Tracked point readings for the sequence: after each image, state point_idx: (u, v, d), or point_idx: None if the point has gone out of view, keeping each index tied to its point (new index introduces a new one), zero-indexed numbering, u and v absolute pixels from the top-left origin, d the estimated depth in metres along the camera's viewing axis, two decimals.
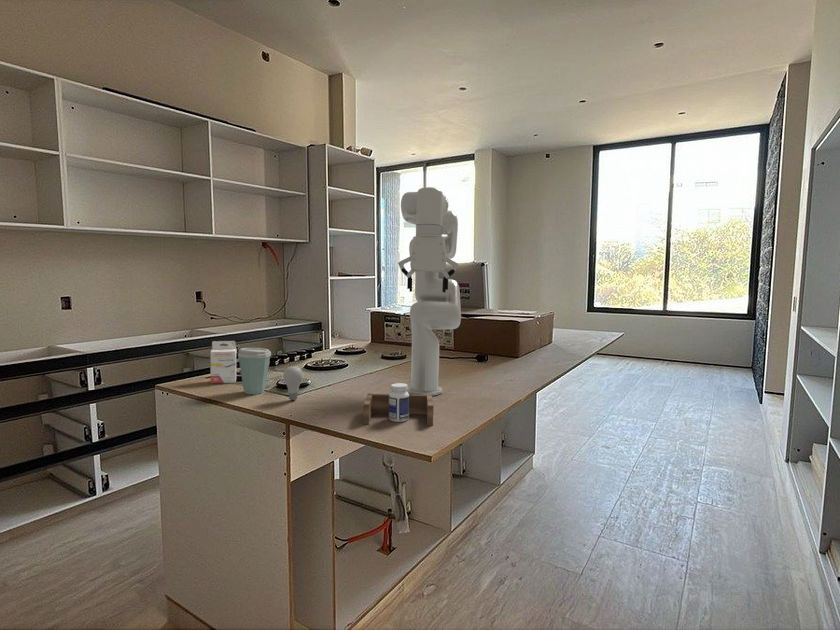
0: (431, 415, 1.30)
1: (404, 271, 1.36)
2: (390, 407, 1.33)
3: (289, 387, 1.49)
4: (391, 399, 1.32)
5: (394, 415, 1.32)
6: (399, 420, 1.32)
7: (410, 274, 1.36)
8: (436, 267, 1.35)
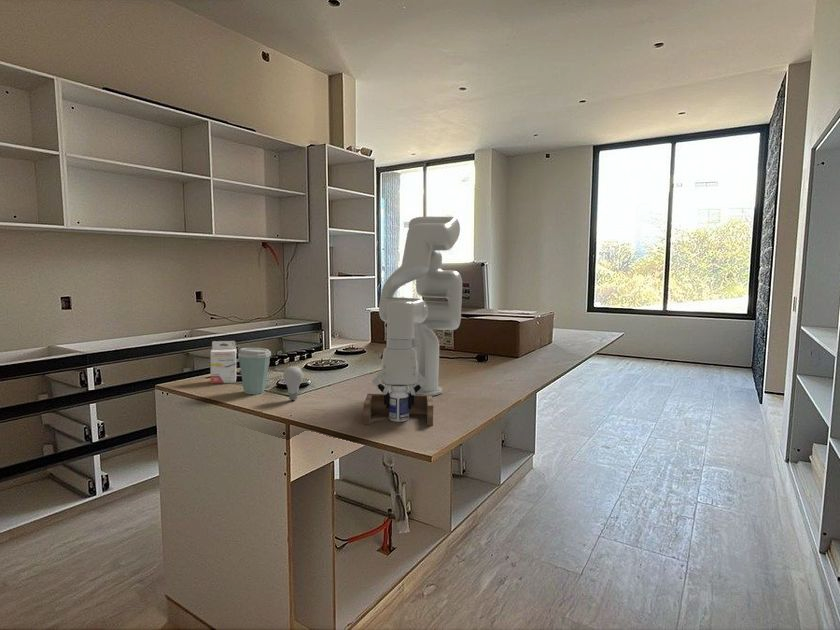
0: (431, 415, 1.30)
1: (380, 388, 1.33)
2: (390, 407, 1.33)
3: (289, 387, 1.49)
4: (391, 399, 1.32)
5: (394, 415, 1.32)
6: (399, 420, 1.32)
7: (386, 391, 1.33)
8: (407, 381, 1.32)
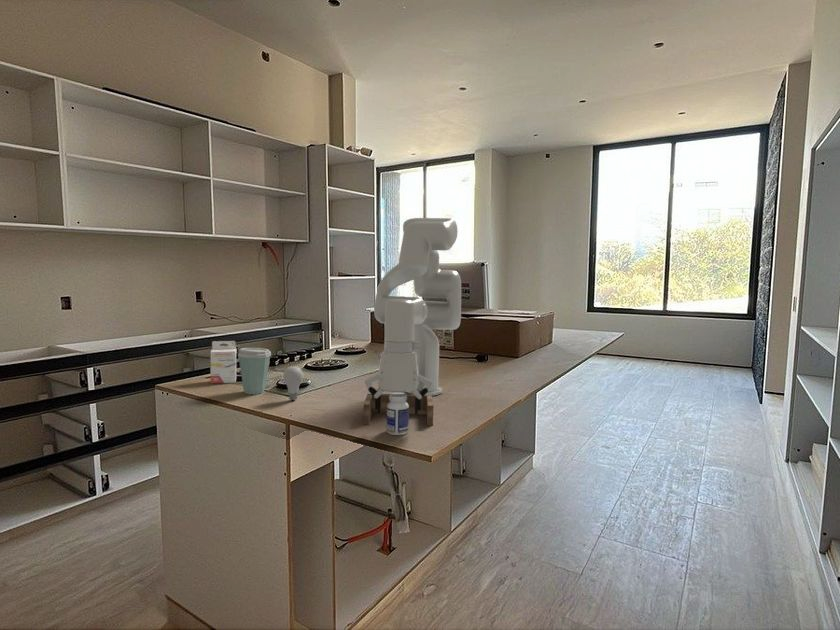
0: (431, 415, 1.30)
1: (371, 391, 1.22)
2: (388, 419, 1.22)
3: (289, 387, 1.49)
4: (389, 410, 1.22)
5: (392, 428, 1.21)
6: (398, 433, 1.21)
7: (378, 394, 1.22)
8: (407, 387, 1.21)
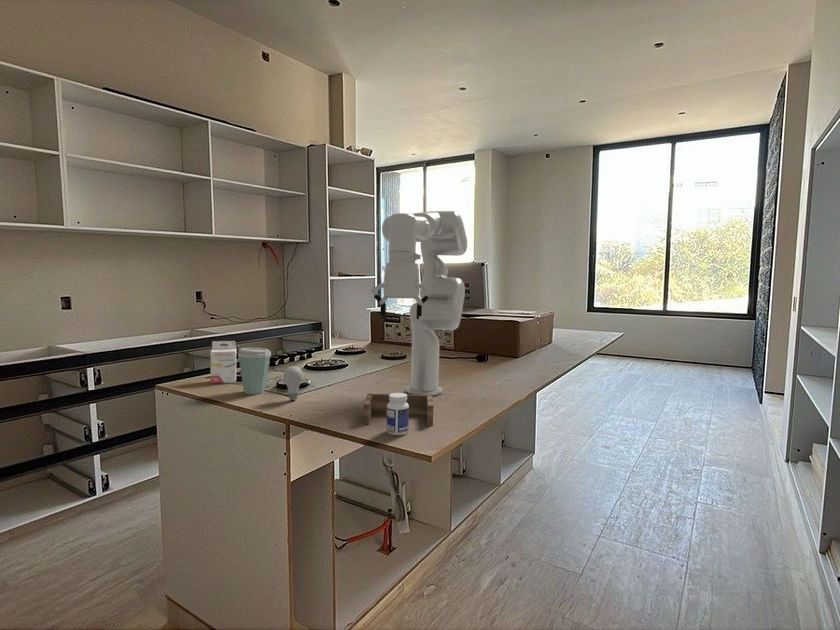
0: (431, 415, 1.30)
1: (377, 298, 1.35)
2: (388, 419, 1.22)
3: (289, 387, 1.49)
4: (389, 410, 1.22)
5: (392, 428, 1.21)
6: (398, 433, 1.21)
7: (383, 301, 1.34)
8: (409, 294, 1.34)
